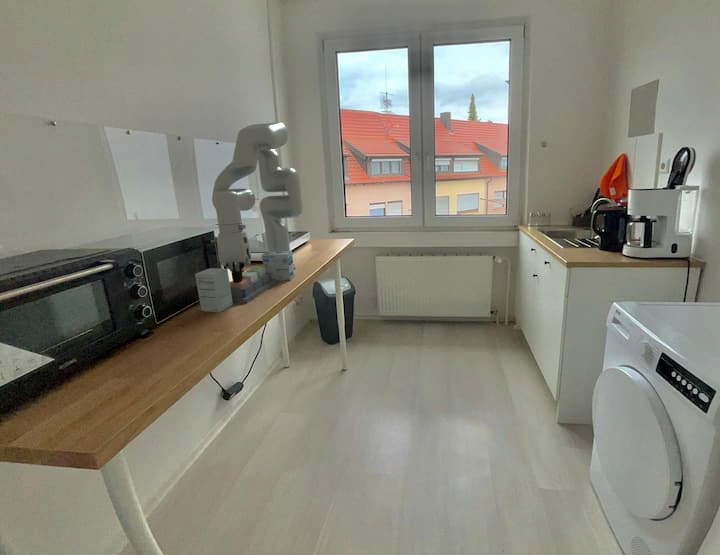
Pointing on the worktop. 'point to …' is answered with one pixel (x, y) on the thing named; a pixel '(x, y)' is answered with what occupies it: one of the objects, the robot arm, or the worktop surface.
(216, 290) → the supplement box
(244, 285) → the terracotta button
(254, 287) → the grey long rectangular frame
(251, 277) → the cream button
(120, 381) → the worktop surface
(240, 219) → the robot arm
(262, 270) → the sage button
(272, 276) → the light bulb box
